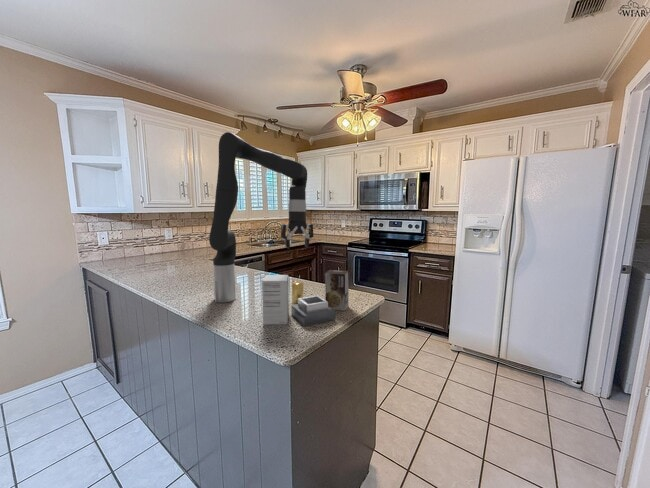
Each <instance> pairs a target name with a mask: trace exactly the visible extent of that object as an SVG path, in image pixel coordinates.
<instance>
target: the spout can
mask: <svg viewBox="0 0 650 488" xmlns="http://www.w3.org/2000/svg"><path fill="white" fill-rule="evenodd" d="M298 298H304V282H303V281H296V280H292V283H291V299H292V300H291V301H292V302H291V306H292V305H294V304H298Z"/></svg>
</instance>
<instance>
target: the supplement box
mask: <svg viewBox="0 0 650 488" xmlns="http://www.w3.org/2000/svg"><path fill="white" fill-rule="evenodd" d="M261 287H262V288H261V293H262V295H261V296H262V297H261V298H262V325H265V326H266V325H288V322H289V317H290V313H289V312H290V310H289V309H290V305H289V304H290V303H289V302H290V301H289V300H290V299H289V298H290V297H289V295H290V293H289V291H290V290H289V274H265V275H264V278H263V279H262V281H261Z"/></svg>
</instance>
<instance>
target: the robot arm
mask: <svg viewBox="0 0 650 488" xmlns="http://www.w3.org/2000/svg"><path fill="white" fill-rule="evenodd" d="M236 158H238V159H241V160H246V161H247V160H248V161H251V162H253V163H256V164H258V165H259V166H262V167H264V168H266V169H268V170H270V171H273V172H275V173H278V174H281V175H284V176H286V177H287V178H290V179H291V185H290V187H289V190H288V224H284V223H283V224H281V227H280V229H281V230H280V238H281V239H284V240H285V243H284V245H285V248H286V249H288V250H289V249H291V241H290V240H291V238H292V236H293V235H302V236H303V237H304V248H309V246H310V239H311V238H314V224H313V223H308V224H307V202H306V195H307V194H306V188H307V182H308V169H307V168H306V166H305V165H303V164H302V163H301V162H298V161H296V160H292V159H290V158H286V157H284V156H282V155H279V154H277V153H274V152H273V151H272V152H271V151H269V150H264V149H261V148H258V147H256V146H253V145H252V144H250V143H248V142H247V141H245V140H244V139H243V138H242V137H240V136H238V135H236V134H235V133H233V132H229V131H228V132H223V134H221V136H220V138H219V142H218V169H217V177H216V178H217V180H216V189H215V195H214V196H215V197H214V198H215V200H214V209H213V218H212V222H211V227H210V231H209V232H210V233H209V237H208V239H209V240H208V241H209V245H210V248H212V249H213V250H214V251H216V252H217V253H216V255H215V256H214V257H213V259H212V260H213V263H212V264H213V296H214V297H213V298H214V302H215V303H230V302H233V301H235V300H236V298H237V297H236V294H237V293H236V273H235V272H236V270H235V269H236V267H235V265H236V264H235V259H236V256H237V255H236V254H237V239H236V236H235V233H234V232H233V231H232V230H230V229H229V223H230V219H231V217H232V216H233V215H232V214H233V212H234V211H235V208H236V205H237V203H238V202H237V201H238V196H239V184H238V179H237V174H236V169H235V165H236V164H235V163H236ZM288 229H289V230H288ZM306 229H308V232H307V231H306ZM287 230H288V232H287ZM286 232H287V233H286Z"/></svg>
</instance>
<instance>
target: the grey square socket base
mask: <svg viewBox="0 0 650 488" xmlns="http://www.w3.org/2000/svg"><path fill="white" fill-rule="evenodd" d="M291 316H293V317H294V318H295V319H296V320H297V321H298V322H299V323H300V324H301V326H303V327H308V326H313V325H317V324H321V323H327V322H328V323H329V322H332V321H335V320H336V310H334V309H333V308H331V307H330V306H328V301H326V300H325V299H324V298H322V297H321V296H320V295H313V296H306V297H304V296H303V298H298V304H294V305H292V304H291Z"/></svg>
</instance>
